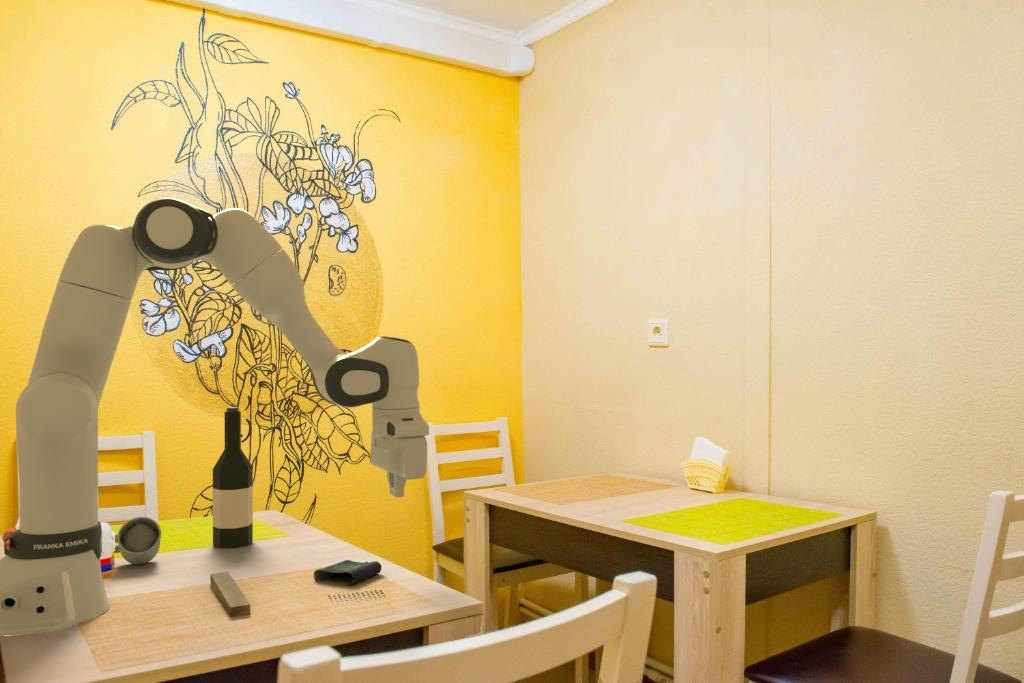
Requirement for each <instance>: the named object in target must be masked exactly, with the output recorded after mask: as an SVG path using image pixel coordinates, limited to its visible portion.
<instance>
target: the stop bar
mask: <svg viewBox="0 0 1024 683" xmlns="http://www.w3.org/2000/svg"><path fill="white" fill-rule="evenodd" d="M210 587H211V589H212V590H213V592H214V594H215V595H216V597H217V598H218V600H219V601H220V603H221V605H222V606H223V608H224V609H225V611H226V612H227V614H228V616H229V617H230V618H234V617H241V616H247V615H250V614H251V603H250V602H249V601H248V598H247V597H246V596H245V595H244V593H243V591H242V590H241V589H240V587H239V585H238V584H237V583H236V581H235V580H234V579H233V577H232V575H231V573H230V572H229V571H224V572H223V571H221V572H217V573H210Z"/></svg>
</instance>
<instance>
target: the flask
mask: <svg viewBox="0 0 1024 683" xmlns="http://www.w3.org/2000/svg"><path fill="white" fill-rule="evenodd" d="M381 571H382V565H381V563H380V562H379V561H377V560H376V561H374V560H373V561H370V562H368V561H365V562H359V561H353V560H349V559H345V560H343V561H340V562H337V563H335V564H331V565H327V566H325V567H322V568H319V569H316V570H315V571H314V572H313V579H314V581H315V582H318V581H321V580H323V579H325V578H328V577H330V576H334V575H335V574H342V573H349V574H351V576H352V582H351V583H348V584H347V585H346V587H349V586H351V585H354V584H357V583H358V582H360V581H363V580H365V579H368V578H371V577H373V576H376V575H378V574H380V573H381Z"/></svg>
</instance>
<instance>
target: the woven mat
mask: <svg viewBox="0 0 1024 683" xmlns="http://www.w3.org/2000/svg"><path fill="white" fill-rule="evenodd" d="M364 592H365V593H364ZM364 592H363V591H361V595H362V596H363V598H364V599H365V601H368V599H367V597H366V595H367V596H368V598H369V600H372V599H373V598H375V600H377V598H376V596H375V594H376V595H377V597H378V598H379V599H382V597H384V598H385V594H384V592H383V590H381V589H380V590H379V592H378V591H377V589H374V592H375V593H374V592H373V590H372V591H369V592H370V593H369V592H368V590H366V591H364ZM380 592H381V593H380ZM355 593H356V595H355ZM355 593H351V594H350V593H347V594H342V597H343V599H345V601H346V602H347V603H349V602H348V599H346V598H349V599H350V600H352V597H353V598H354V600H356V602H359V601H358V600H357V598H356V596H357V597H358V598H359V599H360V601H363V599H362V597H361V595H360V593H359V592H358V591H357V592H355ZM379 593H380V594H379ZM351 595H352V597H351ZM371 595H372V596H373V598H371ZM380 595H382V597H381V596H380ZM327 596H328V598H329V599H330V601H333V600H332V599H333V597H334V600H335V602H336V604H339V603H338V602H339V601H338V600H337V599H340V601H343V599H342V597H341V595H340V594H339V593H338V594H337V595H333V596H332V597H331V595H330V594H329V595H327ZM336 596H338V598H336ZM346 596H348V597H346Z"/></svg>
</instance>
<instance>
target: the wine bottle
mask: <svg viewBox="0 0 1024 683" xmlns="http://www.w3.org/2000/svg"><path fill="white" fill-rule="evenodd" d="M241 445H242V411H241V410H240V409H239V407H238V406H230V407H229V406H228V407H226V411H225V410H224V450H223V451H222V453H221V454H220V457H219V458H218V459H217V461H216V463H215V465H214V466H213V468H212V545H213V546H214V547H217V548H220V549H228V548H229V549H231V548H232V549H234V548H235V549H236V548H240V547H244V546H248V545H251V543H253V540H254V539H253V538H254V537H253V534H254V532H253V531H254V529H253V528H254V526H253V524H254V523H253V521H254V520H253V519H254V517H253V514H254V513H253V510H254V508H253V507H254V506H253V498H254V497H253V495H254V494H253V491H254V490H253V488H254V487H253V486H254V484H253V482H254V481H253V474H254V473H253V472H254V471H253V465H252V464H251V462H250V460H249V459H248V457H247V456H246V454H245V452H244V451H243V450H242V446H241Z"/></svg>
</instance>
